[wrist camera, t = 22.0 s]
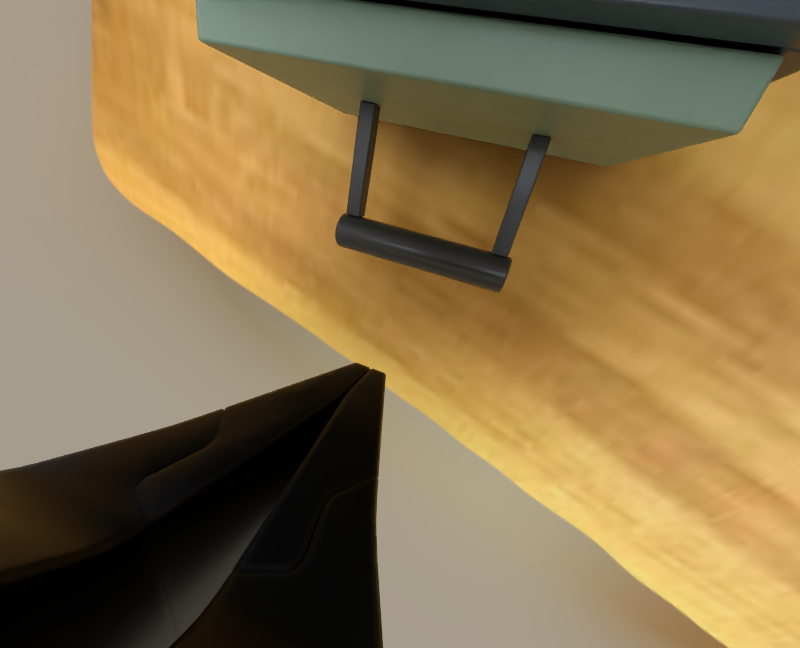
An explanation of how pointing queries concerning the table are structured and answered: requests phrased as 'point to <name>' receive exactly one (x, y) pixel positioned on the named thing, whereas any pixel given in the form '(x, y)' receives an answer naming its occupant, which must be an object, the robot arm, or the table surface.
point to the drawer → (488, 95)
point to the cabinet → (678, 20)
